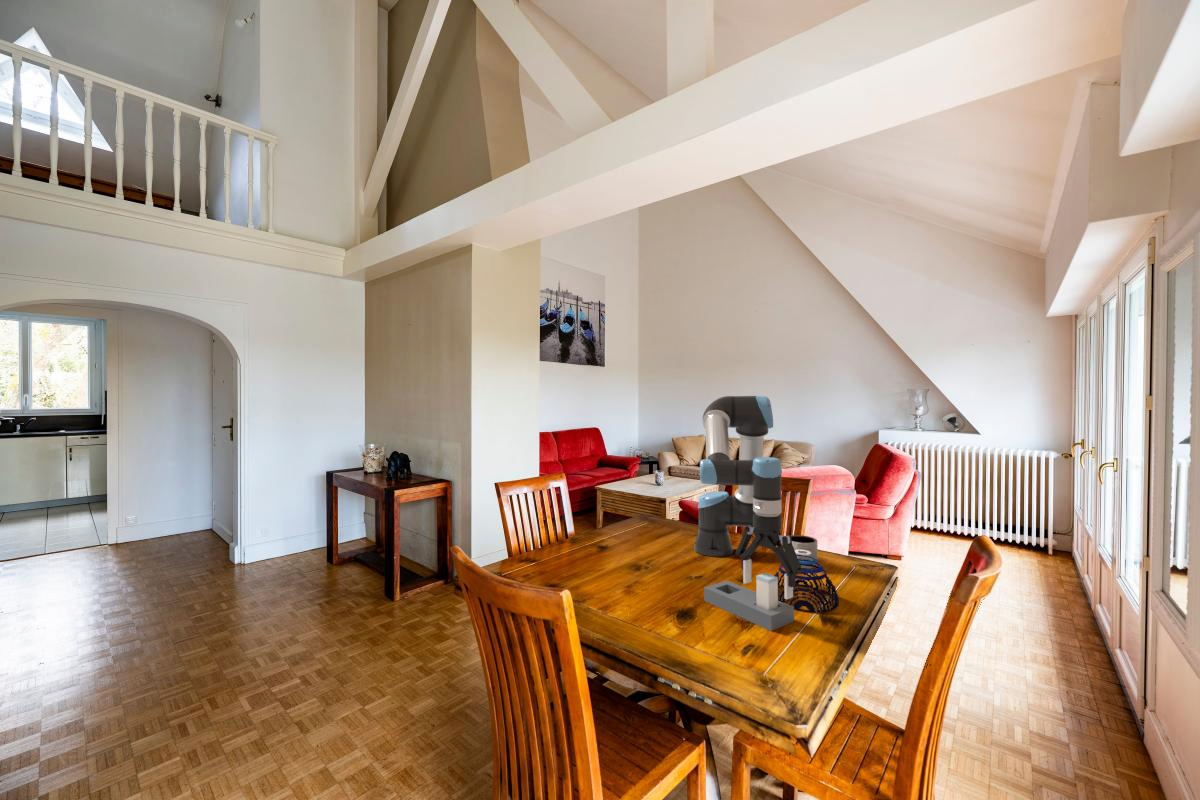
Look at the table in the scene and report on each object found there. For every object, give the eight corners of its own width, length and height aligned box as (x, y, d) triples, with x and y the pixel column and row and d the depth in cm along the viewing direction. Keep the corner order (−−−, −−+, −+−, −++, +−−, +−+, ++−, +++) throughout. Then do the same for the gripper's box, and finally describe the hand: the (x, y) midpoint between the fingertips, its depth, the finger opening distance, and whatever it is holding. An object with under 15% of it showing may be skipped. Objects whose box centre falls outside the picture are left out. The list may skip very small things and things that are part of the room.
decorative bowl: (767, 607, 147) (766, 558, 146) (768, 583, 165) (768, 540, 165) (842, 617, 140) (841, 566, 140) (834, 591, 158) (834, 546, 158)
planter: (785, 567, 180) (785, 541, 180) (786, 558, 190) (786, 533, 190) (818, 571, 176) (818, 544, 176) (817, 562, 186) (817, 536, 186)
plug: (765, 615, 141) (765, 572, 141) (777, 620, 138) (777, 577, 138) (756, 618, 139) (756, 575, 139) (768, 624, 135) (768, 580, 135)
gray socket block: (726, 593, 157) (726, 580, 157) (794, 621, 137) (794, 606, 137) (704, 600, 151) (704, 587, 151) (771, 631, 131) (771, 616, 131)
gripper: (723, 507, 146) (723, 579, 146) (799, 525, 126) (799, 608, 126) (740, 503, 150) (740, 573, 151) (816, 520, 130) (816, 601, 130)
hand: (767, 589), depth 138 cm, fingers open, 13 cm apart
